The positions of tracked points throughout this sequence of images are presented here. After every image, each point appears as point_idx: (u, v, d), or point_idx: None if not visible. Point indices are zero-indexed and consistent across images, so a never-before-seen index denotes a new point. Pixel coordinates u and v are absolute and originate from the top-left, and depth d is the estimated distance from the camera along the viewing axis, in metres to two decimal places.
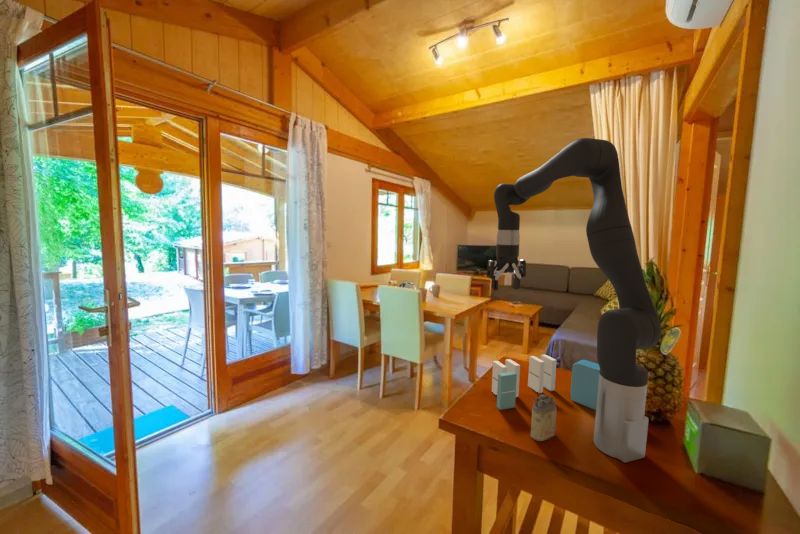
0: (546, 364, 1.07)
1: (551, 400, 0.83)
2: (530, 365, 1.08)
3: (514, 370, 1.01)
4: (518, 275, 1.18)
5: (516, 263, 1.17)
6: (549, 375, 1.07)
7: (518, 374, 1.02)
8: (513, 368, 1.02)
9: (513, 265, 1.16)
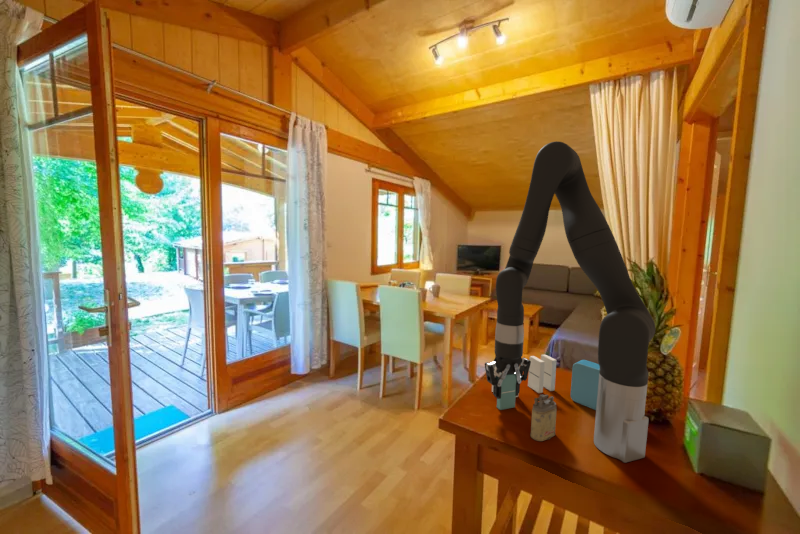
0: (546, 364, 1.07)
1: (551, 400, 0.83)
2: (530, 365, 1.08)
3: None
4: (517, 379, 0.95)
5: (519, 362, 0.95)
6: (549, 375, 1.07)
7: None
8: None
9: (515, 366, 0.94)
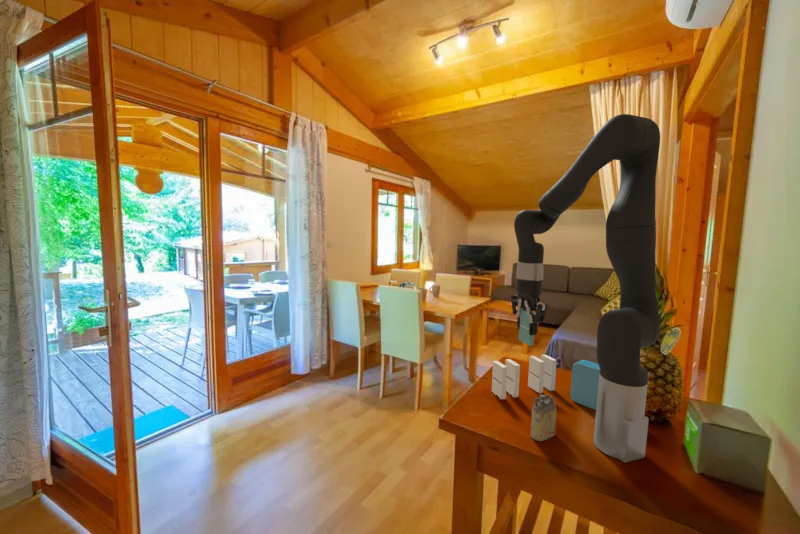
0: (546, 364, 1.07)
1: (551, 400, 0.83)
2: (530, 365, 1.08)
3: (514, 370, 1.01)
4: (529, 318, 1.00)
5: (532, 302, 0.99)
6: (549, 375, 1.07)
7: (518, 374, 1.02)
8: (513, 368, 1.02)
9: (525, 302, 1.01)
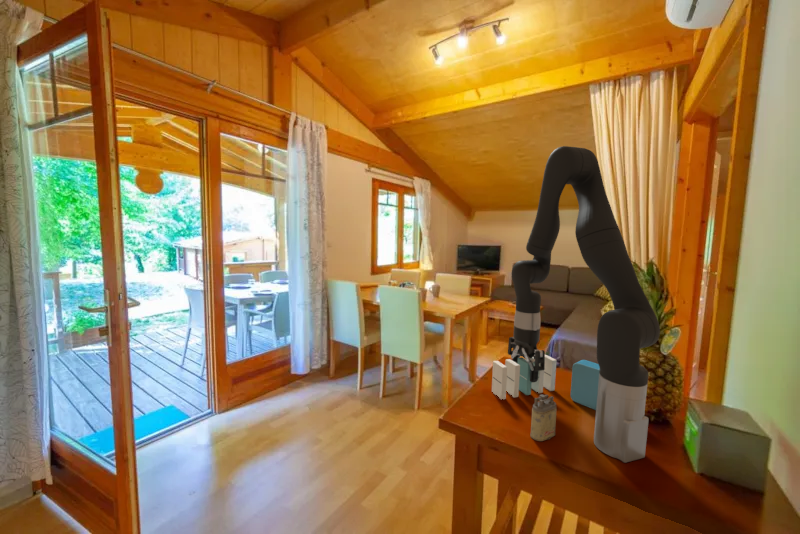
0: (546, 364, 1.07)
1: (551, 400, 0.83)
2: None
3: (514, 370, 1.01)
4: (530, 365, 1.01)
5: (529, 350, 1.01)
6: (549, 375, 1.07)
7: (518, 374, 1.02)
8: (513, 368, 1.02)
9: (523, 350, 1.03)
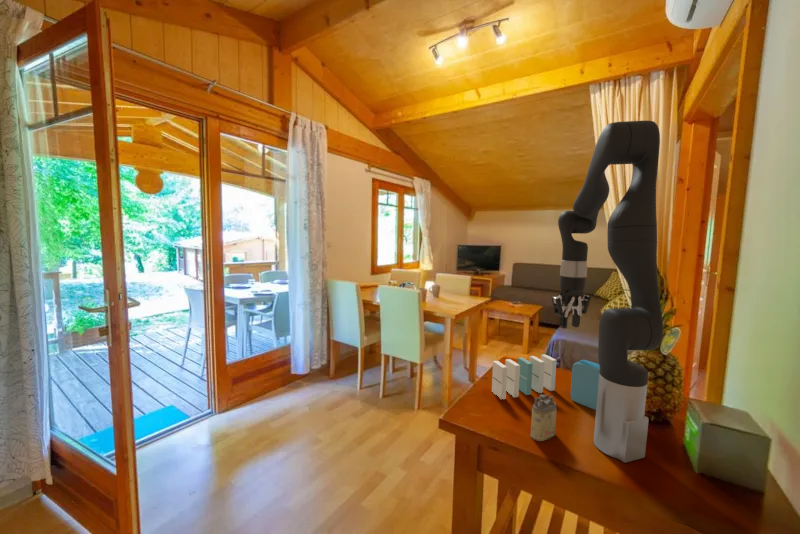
0: (546, 364, 1.08)
1: (551, 400, 0.83)
2: None
3: (514, 370, 1.01)
4: (578, 312, 1.08)
5: (581, 296, 1.07)
6: (549, 375, 1.07)
7: (518, 374, 1.02)
8: (513, 368, 1.02)
9: (579, 298, 1.06)
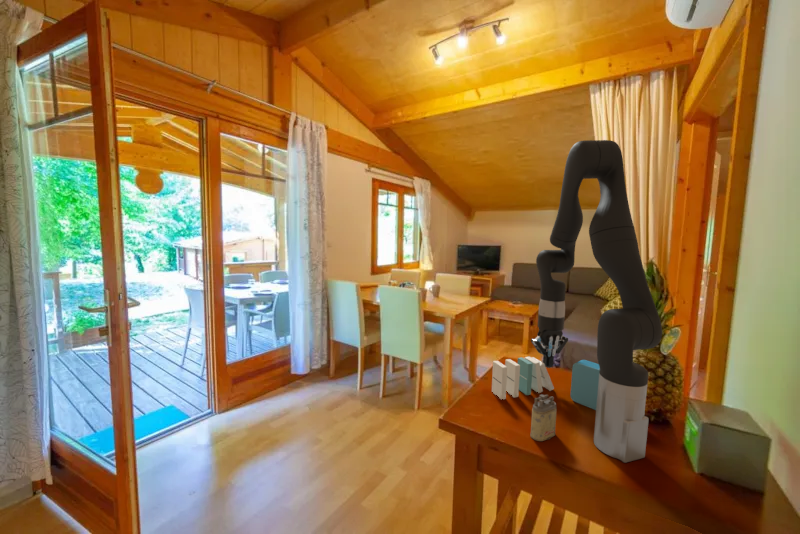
0: None
1: (551, 400, 0.83)
2: None
3: (514, 370, 1.01)
4: (552, 352, 1.06)
5: (560, 335, 1.06)
6: (543, 377, 1.06)
7: (518, 374, 1.02)
8: (513, 368, 1.02)
9: (557, 338, 1.05)
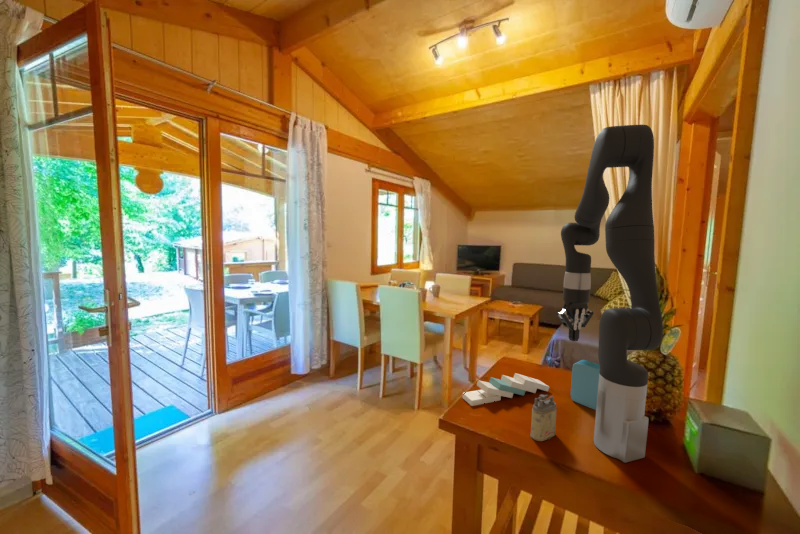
0: None
1: (551, 400, 0.83)
2: None
3: None
4: (578, 325, 1.06)
5: (585, 308, 1.06)
6: None
7: (495, 390, 0.99)
8: None
9: (583, 311, 1.05)
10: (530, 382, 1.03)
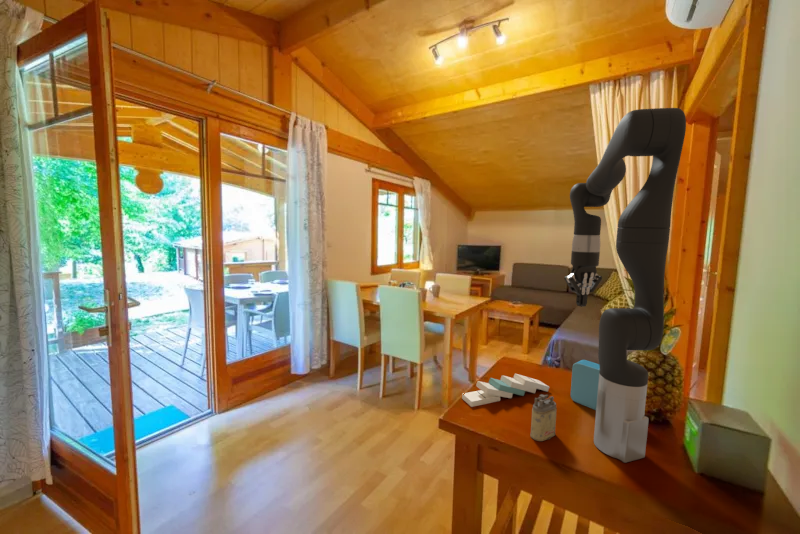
0: None
1: (551, 400, 0.83)
2: None
3: None
4: (586, 290, 1.03)
5: (594, 272, 1.03)
6: None
7: (495, 391, 0.98)
8: None
9: (591, 275, 1.02)
10: (530, 382, 1.03)
